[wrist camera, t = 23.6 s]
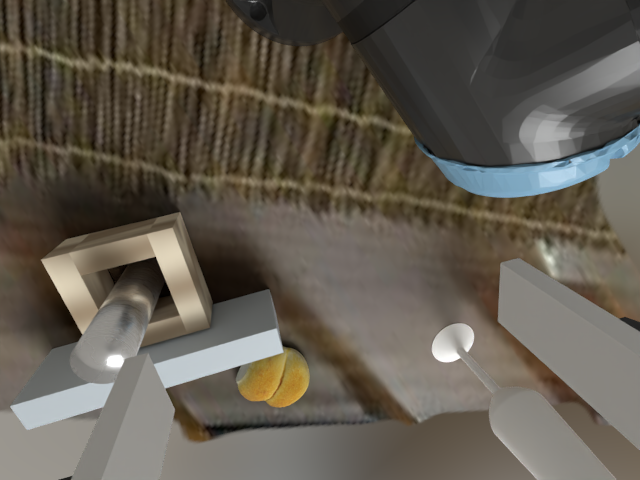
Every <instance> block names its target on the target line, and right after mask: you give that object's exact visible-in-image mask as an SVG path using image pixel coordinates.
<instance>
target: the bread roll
mask: <svg viewBox="0 0 640 480" xmlns="http://www.w3.org/2000/svg"><path fill="white" fill-rule="evenodd" d="M282 347H283V352H284V353H280V354H277V355H274V356H270V357H267V358H264V359H260V360H257V361H254V362H250V363H247V364H244V365H241V367H240V369H239V371H238V373H237V378H236V382H237V384H238V389H239V391H240V393H241V394H242V395H243V396H244V397H245V398H246V399H248V400H250V401H262V400H265V401H266V402H267V403H268V404H269V405H271V406H273V407H285V406H288V405H290V404H292V403H294V402H295V401H297V400H298V399H299V398H300V397H301V396H302V395H303V394H304V393H305V391H306V389H307V387H308V384H309V377H310V375H309V368H308V365H307V362H306V360H305V358H304V357H303V356H302V354H301V353H299V352H298V351H297V350H295V349H293V348H286V347H284V346H282Z"/></svg>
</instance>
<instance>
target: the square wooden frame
mask: <svg viewBox="0 0 640 480" xmlns="http://www.w3.org/2000/svg"><path fill="white" fill-rule="evenodd" d="M153 257H156V258H157V261H158V263H159V266H160V268H161V270H162V273H163V275H164V278H165V280H166V283H167V285H168V287H169V290H170V292H171V295H169V296H165V297H162V298H158V300H157V303H156V306H155V308H154V311H153V314H152V316H151V319H150V321H149V324H148V327H147V329H146V332H145V334H144V337H143V340H142V342H141V345H140V347H143V346H147V345H150V344H154V343H157V342H161V341H165V340H168V339H172V338H175V337H179V336H182V335H186V334H189V333H193V332H196V331H200V330H203V329H207V328H210V323H211V314H212V304H213V302H212V299H211V296H210V293H209V291H208V288H207V285H206V282H205V279H204V277H203V274H202V271H201V268H200V266H199V263H198V260H197V257H196V254H195V252H194V249H193V246H192V243H191V241H190V238H189V235H188V232H187V229H186V227H185V224H184V221H183V218H182V216H181V213H180V212H178V213H174V214H170V215H166V216H161V217H157V218H153V219H149V220H145V221H140V222H136V223H132V224H128V225H124V226H120V227H115V228H111V229H107V230H103V231H99V232H94V233H90V234H86V235H82V236H78V237H74V238H69V239H66V240H65V241H63V242H62V243H61V244H60V245H59V246H57V247H56V248H55V249H54V250H52V251H51V252H50V253H49V254H47V255H46V256H45V257H44V258H43V259H41V261H42V263H43V264H44V266H45V268H46V270H47V272H48V274H49V275H50V277H51V279H52V281H53V283H54V284H55V286H56V288H57V290H58V292H59V293H60V295H61V297H62V299H63V301H64V302H65V304H66V306H67V308H68V310H69V311H70V313H71V315H72V317H73V319H74V320H75V322H76V324H77V326H78V328H79V329H80V331H81V333H82V335H83V334H84V332H85V331H86V329H87V327H88V326H89V324H90V323H91V321H92V320H93V318H94V317H95V315H96V314H97V312H98V310H99V309H100V307H101V306H102V304H103V303H104V301H105V300H106V298H107V297H108V295H109V293H110V292H111V290H112V289H113V287H114V286H115V284H114V282H113V280H112V278H111V276H110V274H109V272H108V270H107V269H109V268H113V267H117V266H121V265H125V264H129V263H133V262H137V261H141V260H145V259H149V258H153Z"/></svg>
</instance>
